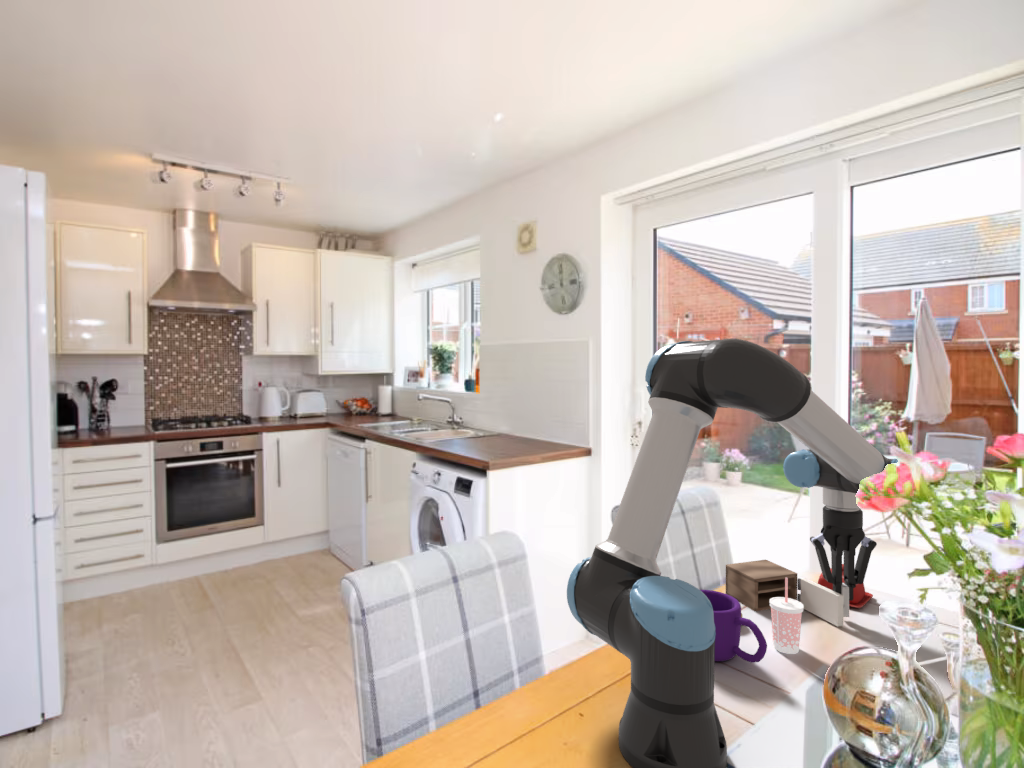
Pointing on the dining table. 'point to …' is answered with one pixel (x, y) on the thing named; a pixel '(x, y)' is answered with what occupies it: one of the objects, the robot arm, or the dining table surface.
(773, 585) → the cabinet
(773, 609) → the beverage cup
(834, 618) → the door
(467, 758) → the dining table surface
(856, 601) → the butter dish
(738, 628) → the mug
